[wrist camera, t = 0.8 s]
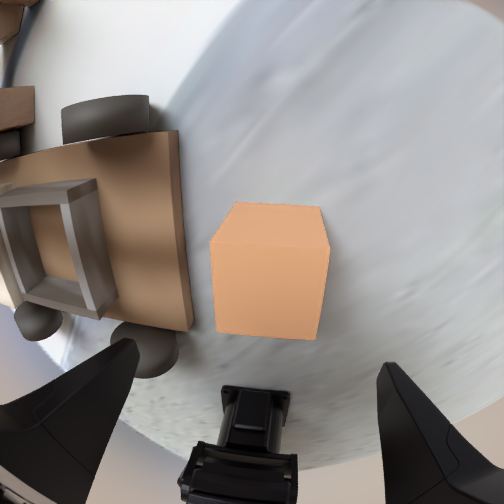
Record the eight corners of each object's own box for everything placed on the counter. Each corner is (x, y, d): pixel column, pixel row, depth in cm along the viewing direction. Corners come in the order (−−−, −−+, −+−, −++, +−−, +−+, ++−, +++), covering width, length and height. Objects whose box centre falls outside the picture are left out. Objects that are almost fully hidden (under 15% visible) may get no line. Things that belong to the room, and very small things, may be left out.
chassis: (197, 339, 23) (176, 390, 18) (36, 304, 25) (7, 333, 20) (177, 95, 15) (129, 89, 10) (-4, 140, 17) (-46, 154, 12)
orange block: (311, 278, 19) (315, 340, 14) (237, 273, 20) (216, 332, 14) (318, 206, 17) (330, 249, 12) (235, 201, 17) (209, 241, 12)
